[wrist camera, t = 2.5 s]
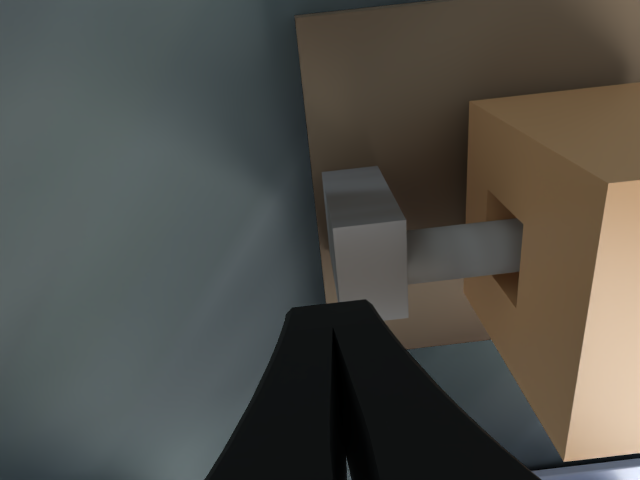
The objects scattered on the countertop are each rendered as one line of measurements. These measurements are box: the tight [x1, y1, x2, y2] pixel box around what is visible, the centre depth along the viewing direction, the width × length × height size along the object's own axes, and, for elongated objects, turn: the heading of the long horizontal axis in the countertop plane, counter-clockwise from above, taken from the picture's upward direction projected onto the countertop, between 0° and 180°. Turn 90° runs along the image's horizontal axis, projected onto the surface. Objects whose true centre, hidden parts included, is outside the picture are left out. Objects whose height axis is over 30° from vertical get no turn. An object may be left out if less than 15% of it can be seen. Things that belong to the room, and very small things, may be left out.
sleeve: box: [463, 82, 640, 462], centre depth 11 cm, size 6×4×6 cm
